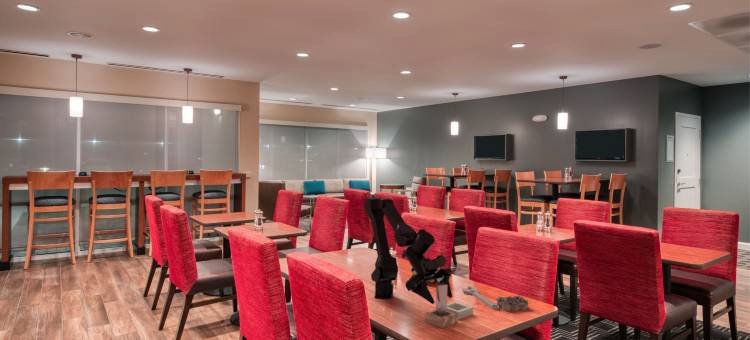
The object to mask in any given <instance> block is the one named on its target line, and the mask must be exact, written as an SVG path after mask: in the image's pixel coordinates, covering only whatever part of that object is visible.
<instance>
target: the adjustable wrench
mask: <svg viewBox="0 0 750 340" xmlns="http://www.w3.org/2000/svg"><path fill="white" fill-rule="evenodd" d="M461 289H462V291H461V292H462V293H463V294H464V295H468V296H473V297H474V298H476V299H477V300H479V301H480V302H481V303H482V304H485V306H487V307H488V308H489V309H491V310H495V311H498V310H500V307H499V306H498V305H497V303H495V302H494V301H492V300H490V299H489V298H487V297H486V296H484V295H482V294H481V293H479V291H478V288H477V287H475V286H467V288H466V287H462V288H461Z"/></svg>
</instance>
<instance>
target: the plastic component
mask: <svg viewBox="0 0 750 340" xmlns="http://www.w3.org/2000/svg"><path fill="white" fill-rule="evenodd" d="M412 268H413V267H412V266H411V267H410V269H409V270H410V273H411V274H412V276H413V275H416V272H415V271H414V272H412V270H411V269H412ZM440 269H441V267H439V268H438V270H437V271H436V272H435V274H436V273H437V272H438V271H439V270H440ZM431 278H432V277H431ZM428 283H435V281H434V280H432V281H428Z"/></svg>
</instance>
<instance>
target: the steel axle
mask: <svg viewBox="0 0 750 340" xmlns="http://www.w3.org/2000/svg"><path fill="white" fill-rule="evenodd" d="M435 287H436V291H435V294H436V295H435V309H436V315H438V316H441V317H444V316H446V315H447V304H448V296H447V284H442V283H439V284H438V283H436V286H435Z"/></svg>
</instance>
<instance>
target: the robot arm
mask: <svg viewBox="0 0 750 340" xmlns="http://www.w3.org/2000/svg"><path fill="white" fill-rule="evenodd" d="M363 208H364V210H365V214H366V216H367V217H368V219H370V220H371V226H372V231H373V237H374V243H375V249H376V254H377V258H376V260H375V262H374V268H375V269H374V270H373V271H372V272H371V274H370V277H371V281H373V282H374V283H375V284H374V287H375V289H374V299H375V298H377V299H388V300H389V299H390V300H391V299H392V297H393V295H394V283H393V281H397V276H398V274H399V266H398V262H397V258H396V256H394V257H393V256H392V254H391V252H390V251H391V250H390V246H389V241H388V236H387V235H388V234H387V230H386V224H385V223H386V222H385V217H386V219H387V221H388V223H389V224H390V226H391V228H392V229H393V232H394V234H393V238H394V240H395V243H396V245H397V246H398V247H399V248H406V247H407V248H406V249H403V250H402V255H401V258H402V259H407V260H408V262H409V264H410V265H411V267H413V268H412V269H411V270H412V272H414V271H415V272H416V275H413V274H412V276H410V278H409V279H408V280H406V282H405V288H406V289H407V291H408V292H411V293H414V294H416V295H418V296H419V297H421V298H422V299H424V300H425V301H427V302H429V303H430V304H432V305H435V304H436V300H435V299H434V297H433V295H432V294H431V292H430V290H429V288H428V286H427V285H428V284H427V283H429V281H432V280H434V283H436V284H439V283H442V284H447V298H449V299H452V298H453V293H452V289H451V285H450V278H451V277H452V274H453V271H452V270H451V268H450V267H446V263H447V259H446V257H445V256H444V254H439V255H436V258H432V259H431V258H430V257H427V256H426V253H427V252H428V251H429V250H430V249H431V247H432V246H433V245H434V243H435V236H434V235H432V233H430V232H428V231H426V229H425V228H420V229H418V231H416V230H415V229H414V228H413V227H412V226H410V225H409V224H407V223H406V222H405V220H404V218H403V217H402V215H401V214H400V212H399V211H398V209H397V208H396V205H395V203H394V200H393V199H392V198H389V197H388V198H383V197H381V196H380V197H367V198H366V199H365V201H364V202H363ZM438 268H440V270H439V271H438V272H437V273H436V274H435V272H436V271H437V270H438ZM411 270H410V271H411ZM412 272H411V273H412ZM431 277H432V278H431Z"/></svg>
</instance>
